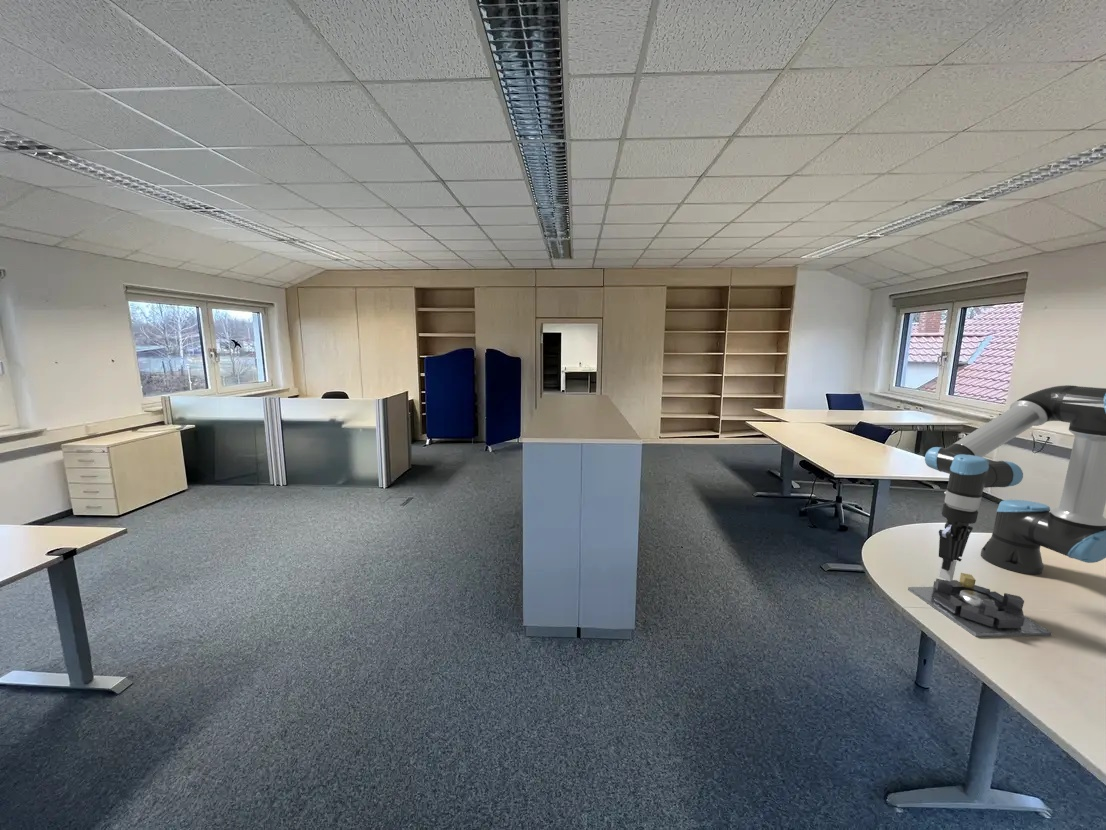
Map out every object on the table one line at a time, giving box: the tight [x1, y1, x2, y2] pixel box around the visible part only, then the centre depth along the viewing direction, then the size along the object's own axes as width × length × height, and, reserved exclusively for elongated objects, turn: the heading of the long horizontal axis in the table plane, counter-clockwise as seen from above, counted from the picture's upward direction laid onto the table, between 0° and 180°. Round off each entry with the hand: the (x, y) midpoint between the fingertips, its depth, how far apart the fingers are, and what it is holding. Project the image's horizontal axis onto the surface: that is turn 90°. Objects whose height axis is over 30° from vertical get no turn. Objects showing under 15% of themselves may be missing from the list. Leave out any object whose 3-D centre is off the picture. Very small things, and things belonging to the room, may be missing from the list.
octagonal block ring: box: [932, 572, 1025, 628], centre depth 122 cm, size 18×18×6 cm
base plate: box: [907, 586, 1052, 638], centre depth 122 cm, size 21×21×4 cm
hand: (945, 578), depth 128 cm, fingers closed
